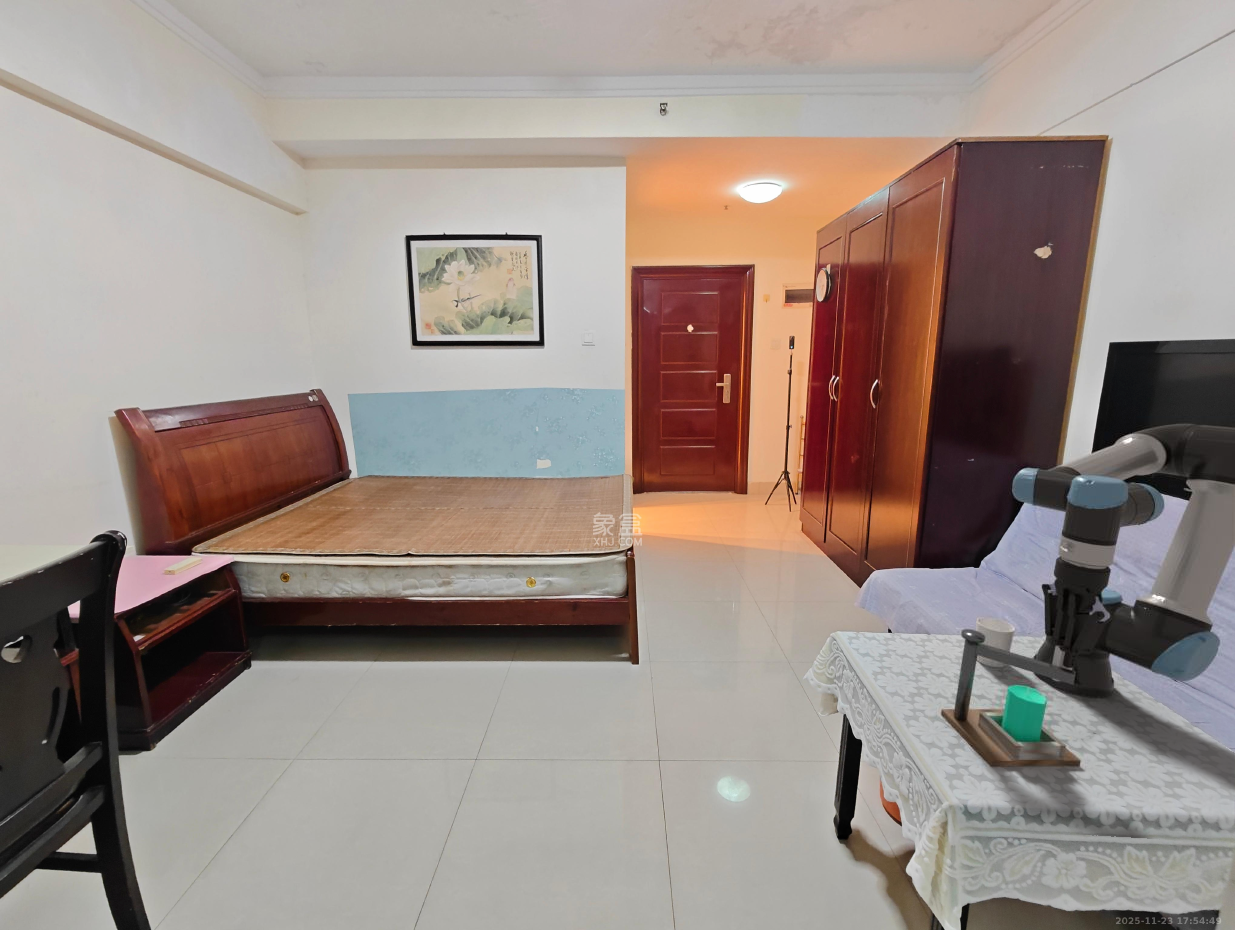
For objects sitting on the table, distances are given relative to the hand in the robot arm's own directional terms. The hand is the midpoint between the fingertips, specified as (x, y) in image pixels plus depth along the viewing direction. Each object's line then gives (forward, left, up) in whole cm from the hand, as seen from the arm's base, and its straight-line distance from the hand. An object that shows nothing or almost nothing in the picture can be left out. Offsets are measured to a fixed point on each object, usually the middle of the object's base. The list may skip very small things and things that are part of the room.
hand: (1059, 678), depth 101 cm
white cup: (-12, -32, -16) cm, 38 cm away
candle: (+5, -1, -14) cm, 15 cm away
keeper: (+7, -3, -14) cm, 16 cm away
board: (+5, -3, -15) cm, 17 cm away
